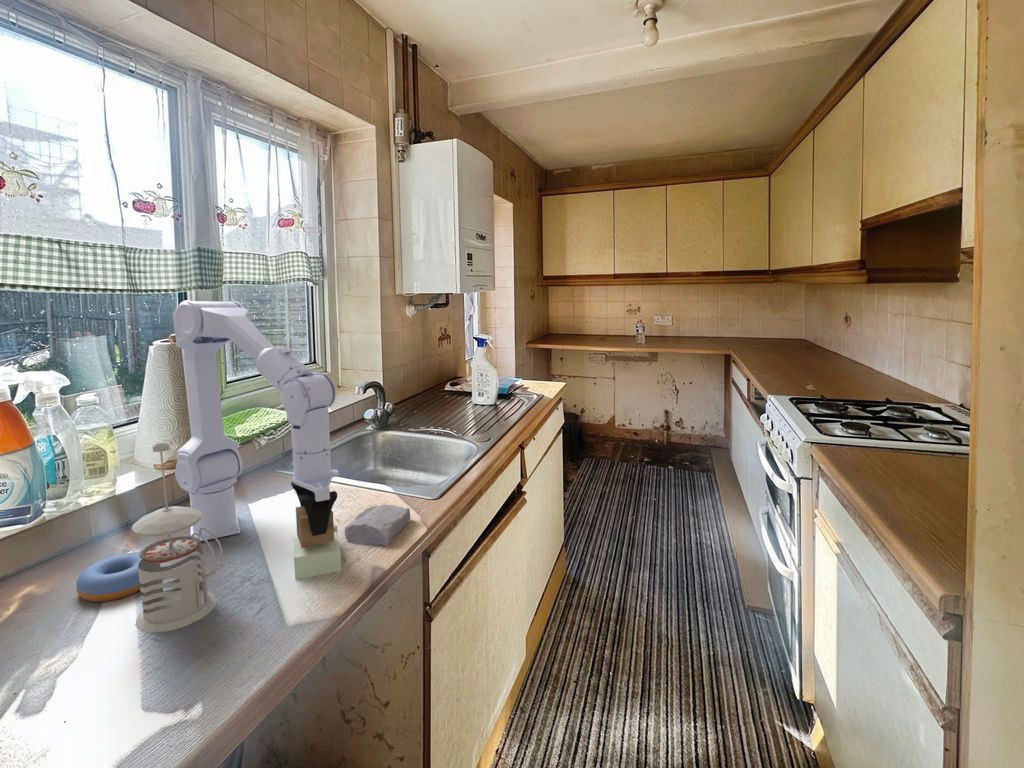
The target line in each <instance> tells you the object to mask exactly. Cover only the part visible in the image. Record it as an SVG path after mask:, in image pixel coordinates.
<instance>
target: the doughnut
mask: <svg viewBox="0 0 1024 768" xmlns="http://www.w3.org/2000/svg"><path fill="white" fill-rule="evenodd" d="M140 552H141V551H140ZM140 552H138V551H136V552H124V553H119V554H115V555H111V556H107V557H105V558H103V559H100V560H98V561H96V562H94V563H92V564H90V565H88V566H87V567H86V568H84V569H83V570H82V571H81V572H80V574H79V575H78V577H77V579H76V582H75V585H76V586H75V587H76V588H75V589H76V593H77V595H78V596H79V597H80V598H82V599H83V600H85V601H90V602H96V603H97V602H108V601H113V600H118V599H122V598H124V597H129V596H131V595H133V594H135V593H137V591H138V592H139V590H140V585H141V583H140V582H139V572H138V565H139V562H140V561H141V560H142V558H140V557H139V556H140ZM128 595H129V596H128Z"/></svg>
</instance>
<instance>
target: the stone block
mask: <svg viewBox="0 0 1024 768" xmlns="http://www.w3.org/2000/svg"><path fill="white" fill-rule="evenodd" d="M409 520H411V509H410V508H409V507H403V506H400V505H396V504H395V505H394V504H385V503H384V504H381V505H373V506H370V507H367V508H365V509H364V510H363V511H362V512H360V513H359V514H358V515H357V516H356V517H355V518H354V519H353V520H352V521H350V523H348V524H347V525H346V526H345V527H344V536H345V539H346V541H347V542H348V543H351V544H355V545H365V544H366V545H370V544H372V546H382V545H383V546H384V547H386V546H385V545H387V546H388V544H389V543H390V542H391V541H392V540H393V539H394V540H395V538H396V537H398V535H399V534H400V533H401V532H402V531H401V530H403V529H404V528H405V527H406V526H407V525H408V524H409V523H408V521H409ZM409 522H410V521H409ZM407 523H408V524H407ZM406 524H407V525H406ZM405 525H406V526H405ZM404 526H405V527H404ZM403 527H404V528H403ZM400 531H401V532H400ZM399 532H400V533H399ZM398 533H399V534H398ZM397 534H398V535H397ZM394 540H393V541H394ZM393 541H392V542H393ZM392 542H391V543H392ZM391 543H390V544H391ZM390 544H389V545H390Z"/></svg>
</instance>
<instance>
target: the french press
mask: <svg viewBox="0 0 1024 768" xmlns="http://www.w3.org/2000/svg"><path fill="white" fill-rule="evenodd" d="M169 450H170V445H169V444H168V442H165V441H157V442H156V443H155V444H154V445H152V452H153V453H160V454H159V455H160V464H161V472H162V481H163V482H162V484H163V492H164V501H165V507H163V508H159V509H155V510H154V511H152V512H150V513H148V514H145V515H142V516H141V517H140V518H139V519H138V520H137V521H136V522H134V523H133V524H132V526H131V530H132V531H133V533H135V534H137V536H142V537H160V536H164V535H165V536H167V535H168V537H167V538H164V539H161V540H156V541H154V542H152V543H151V544H149V545H146V546H145V547H144V548H143V549H142V550H141V551H140V556H139V557H140V558H142V560H141V561H140V562H139V565H138V572H139V582H140V583H141V585H140V593H141V595H140V596H141V598H140V599H141V606H142V610H141V612H140V613H139V614H138V615H137V616H136V617H137V619H135V622H136V624H134V625H135V627H136V628H138V627H139V628H138V630H139V631H141V632H146V633H162V632H163V633H164V632H171V631H174V630H178V629H180V628H184V627H187V626H190V625H192V624H194V623H196V622H197V620H198V621H200V620H202V619H203V618H204V617H205V616H207V615H208V614H210V613H211V612H212V611H213V609H214V608H215V607H216V606H217V596H216V595H214V594H212V592H210V591H208V589H209V588H208V579H209V577H211V575H213V574H214V573H216V572H217V571H218V570H219V569H220V567H221V564H222V560H223V547H222V545H221V541H220V540H219V539H218V538H217V537H216V536H215V535H214V534H213V533H212V532H211V531H209V530H207V529H205V528H200V530H199V534H197V533H193V534H192V535H191V534H190V535H189V534H188V535H180V536H179V535H178V536H171V535H172V534H175V533H179V532H182V531H184V530H188V529H190V528H191V526H193V525H195V524H196V523H197V522H198V521H199V520H200V519H201V517H202V512H200V511H199V510H197V509H194V508H191V507H189V506H179V505H174V506H168V498H167V489H166V477H165V469H164V458H163V457H164V456H163V452H167V451H169ZM202 530H205V531H207V532H209V533H210V534H211V535H212V536H213V537H214V539H215V541H216V543H217V545H218V548H219V563H218V565H217V567H216V568H215V566H216V559H215V550H214V548H213V547H212V545H211V544H210V542H209V541H208V540H206V539H205V538H204V537H203V536H201V532H202ZM194 535H196V536H198V538H197V537H195V536H194ZM199 538H202V539H203V540H204V541H203V542H205V543H206V544H207V546H208V548H209V549H210V550H211V556H212V566H211V567H212V568H211V569H210V572H208V573H207V569H206V560H205V559H206V557H205V556H206V555H205V548H203V547H202V546H201V545H202V541H201V540H200V539H199ZM194 552H198V553H199V554H201V555H190V554H193V553H194ZM189 555H190V556H189ZM186 556H188V557H186ZM183 557H186V558H184V559H182V560H180V561H178V562H175V563H173V564H170V565H166V566H162V565H161V564H164V563H168V562H173V561H174V560H177V559H181V558H183ZM197 560H198V561H199V562H200V563H199V562H198V561H197ZM190 561H192V562H191V563H189V562H190ZM186 563H188V564H186ZM199 569H200V570H201V571H199ZM199 577H201V578H199ZM167 579H168V580H169V579H174V580H171V581H167V582H163V581H164V580H167ZM165 588H166V589H167V588H169V589H168V590H164V589H165ZM170 588H171V589H170ZM195 621H196V622H195ZM193 622H194V623H193Z"/></svg>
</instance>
